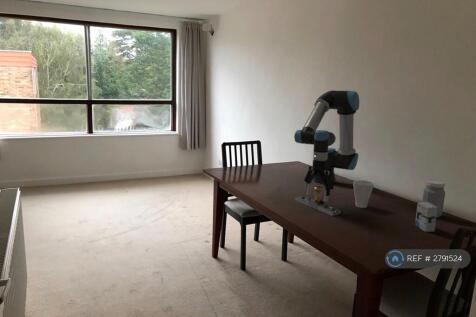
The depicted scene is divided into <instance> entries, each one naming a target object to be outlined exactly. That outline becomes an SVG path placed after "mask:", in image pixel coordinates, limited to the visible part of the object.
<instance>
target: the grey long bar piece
mask: <svg viewBox="0 0 476 317" xmlns="http://www.w3.org/2000/svg"><path fill="white" fill-rule="evenodd" d="M294 199H295V200H294V201H296V202H298V203H301V204H303V205H305V206H307V207H310V208H312V209H315V210H317V211H318V212H319V211H320V212H322V213H324V214H326V215H329V216H331V217H334V216H338V214H339V215H341V212H342V211H341V209H338V208H335V207H333V206H331V205H328V204H326V203H327V202H324V199H321V198H320V205H318V203H317V202H314V199H313V198H310V197H308V196H307V195H298V196H295V197H294Z"/></svg>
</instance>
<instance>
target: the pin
mask: <svg viewBox="0 0 476 317" xmlns="http://www.w3.org/2000/svg"><path fill="white" fill-rule="evenodd" d="M312 187H313V188H312V190H314V195H313V196H314V199H313V200H314V202H317V203H318V205H320V199H321V194H322V191H323V187H322V186H318V185H317V186H316V185H315V186H312Z"/></svg>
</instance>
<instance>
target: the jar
mask: <svg viewBox="0 0 476 317" xmlns="http://www.w3.org/2000/svg"><path fill="white" fill-rule="evenodd" d="M445 185H446V182H444V181H441V180H437V179H436V180H435V179H427V180H426V182H425V188H424V189H423V194H422V201H421V202H428V203H430V204H432V205H434V206H436V207H437V208H438V209H437V216H436V219H437V218H440V217H441V216H443V210H444V204H445V198H446V192H445Z"/></svg>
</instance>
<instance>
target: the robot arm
mask: <svg viewBox="0 0 476 317" xmlns="http://www.w3.org/2000/svg"><path fill="white" fill-rule="evenodd" d="M313 105H314V107H313V109H312V111H311V113H310V115H309V117H307V120H306V122H305V123H304V126H303V127H302V129H297V130H296V131H295V132H294V136H293V137H294V142H295V143H296V144H302V145H312V146H313V150H312V151H313V152H312V153H313V154H312V159H313V160H312V165H308V170H307V172H306V174H305V177H304V179H303V180H304V182H306V196H311V195H312V192H313V191H312V190H313V188H312V187H313V183H312V182H315V183H318V184H323V186H324V188H325V189H324V194H323V195H324V196H323V201H324V202H326V203H327V202H329V198H330V195H331V190H334V189H335V188H334V185H333V184H335V183H337V182H336V181H337V178H336V174H335V169H338V170H339V169H341V170H346V171H354V170H355V169H356V167H357V164H358V161H359V153H357V152H356V149H355V148H354V118H355V117H354V116H355V114H356V113H357V111H358V110H359V108H360V96H359V94H358V92H357V91H354V90H334V89H333V90H328V91H326V92H324V93H322V94H321V95H320V96H319V97H318V98H317V99H316V101H315V103H314V104H313ZM329 110H336V114H337V115H339V123H338V124H339V148H338V149H336V148H333V147H330V146H332V145H334V144H335V142H336V139H337V137H336V135H335V134H334V133H333V132H331V131H329V130H326V129H325V130H324V129H318V128H319V126H320V124H321V122H322V120H323V118H324V117H325V114H326V113H328V112H329ZM317 129H318V130H317Z"/></svg>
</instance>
